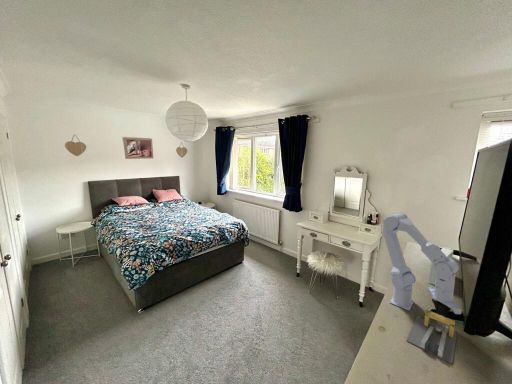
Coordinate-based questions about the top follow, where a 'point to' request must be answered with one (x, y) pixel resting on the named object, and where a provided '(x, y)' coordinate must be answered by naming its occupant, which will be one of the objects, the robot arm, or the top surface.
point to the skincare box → (432, 271)
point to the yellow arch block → (441, 319)
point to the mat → (431, 339)
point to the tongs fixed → (440, 348)
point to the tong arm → (427, 338)
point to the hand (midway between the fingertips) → (440, 317)
